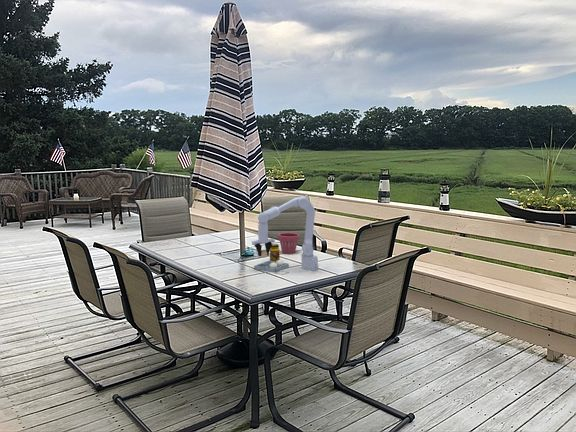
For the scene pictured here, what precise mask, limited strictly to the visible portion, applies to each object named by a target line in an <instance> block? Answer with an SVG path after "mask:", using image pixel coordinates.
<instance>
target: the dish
mask: <svg viewBox="0 0 576 432" xmlns="http://www.w3.org/2000/svg"><path fill="white" fill-rule="evenodd" d="M280 272H282V273H280ZM279 273H280V275H283V276H284V275H287V274H289V273H290V272H289V271H287V272H285V271H284V270H280V271H278V272H274V274H276V275H279Z"/></svg>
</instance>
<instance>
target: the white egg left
mask: <svg viewBox="0 0 576 432" xmlns="http://www.w3.org/2000/svg"><path fill="white" fill-rule="evenodd" d="M269 267H270V268H274V269H275V268H277V264H276V263H274V262H272V263H271V264H270V265H269Z"/></svg>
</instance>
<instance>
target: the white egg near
mask: <svg viewBox="0 0 576 432" xmlns="http://www.w3.org/2000/svg"><path fill="white" fill-rule="evenodd" d="M283 263H284V261H283V260H282V259H280V260H278V261H276V264H277V265H278V266H282V265H283Z"/></svg>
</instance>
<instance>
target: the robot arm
mask: <svg viewBox="0 0 576 432" xmlns="http://www.w3.org/2000/svg"><path fill="white" fill-rule="evenodd" d="M293 207H294V208H298V207H299V208H301V209H303V210H304V211H305V212H306V220H305V230H304V231H305V232H304V239H303V244H302V245H301V251H302V253H301V269H302V270H307V271H308V270H309V271H313V272H314V271H317V270H319V259H318V256H316V255H314V247H313V245H314V244H313V237H314V229H315V228H314V227H315V216H316V210H315V208H314V206H313V204H312V202H311V200H310V199H309V198H308V197H307V196H305V195H300V196H298V197H295V198H292V199H290V200H289V201H287V202H285V203H283V204H282V205H279V206H275V205H274V206H273V205H272V206H271V207H270V208H269V209H267V210H264V211H263V212H259V214H258V216H257V220H258V223H257V224H258V226H257V228H258V232H257V233H258V234H257V236H258V238H257V240H252V241H251V246H254V247H255V250H256V253H257V256H258V257H261V250H262V247H263V245H264V246H265V247H264V248H265V250H266V251H267V256H270V249H271V246H272V244H275V242H276V241H275V238H269V224H268V221H269V220H272V219H274V218H277V217H278V216H280V214H281V212H284V211H286V210H288V209H290V208H293ZM262 244H263V245H262Z"/></svg>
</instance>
